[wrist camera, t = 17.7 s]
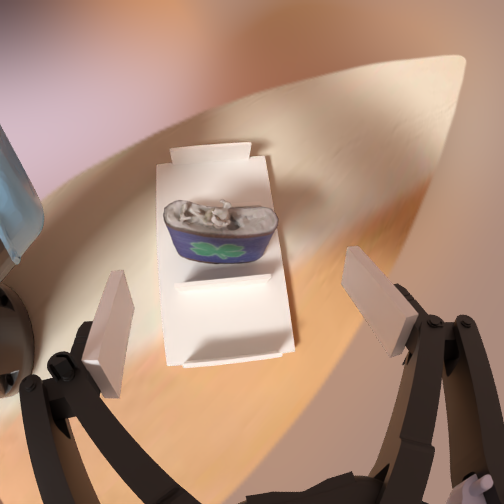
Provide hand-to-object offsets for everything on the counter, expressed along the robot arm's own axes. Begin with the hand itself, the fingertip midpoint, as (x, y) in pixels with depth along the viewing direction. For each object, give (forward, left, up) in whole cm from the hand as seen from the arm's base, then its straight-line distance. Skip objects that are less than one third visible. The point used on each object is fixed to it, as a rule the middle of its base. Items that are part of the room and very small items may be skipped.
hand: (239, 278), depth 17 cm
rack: (-1, +5, -15) cm, 16 cm away
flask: (-1, +6, -14) cm, 15 cm away
